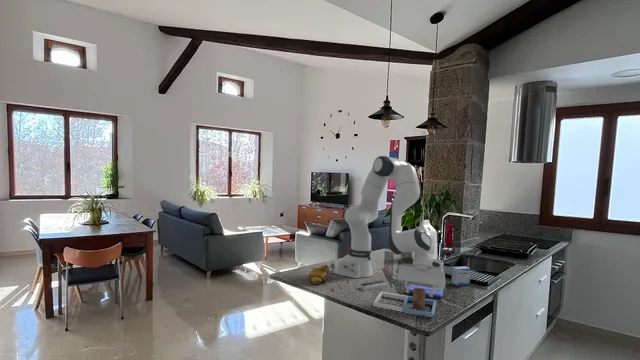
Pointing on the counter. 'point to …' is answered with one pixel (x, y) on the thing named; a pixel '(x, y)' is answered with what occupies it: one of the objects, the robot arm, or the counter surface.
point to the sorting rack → (404, 304)
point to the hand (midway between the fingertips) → (419, 294)
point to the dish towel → (427, 291)
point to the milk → (428, 228)
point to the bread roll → (319, 274)
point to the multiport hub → (373, 285)
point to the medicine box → (461, 275)
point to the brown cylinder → (419, 299)
